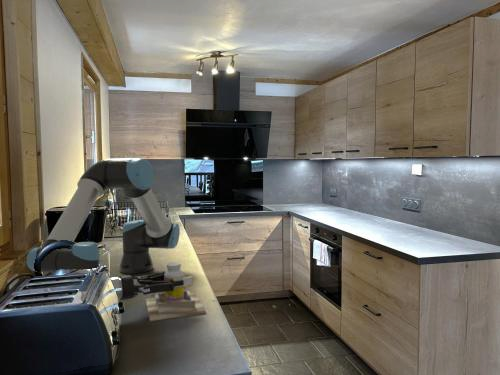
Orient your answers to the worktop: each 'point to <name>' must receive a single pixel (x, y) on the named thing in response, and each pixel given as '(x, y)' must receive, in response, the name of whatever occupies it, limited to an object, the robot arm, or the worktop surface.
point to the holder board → (174, 307)
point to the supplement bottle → (172, 274)
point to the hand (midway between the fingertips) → (187, 277)
